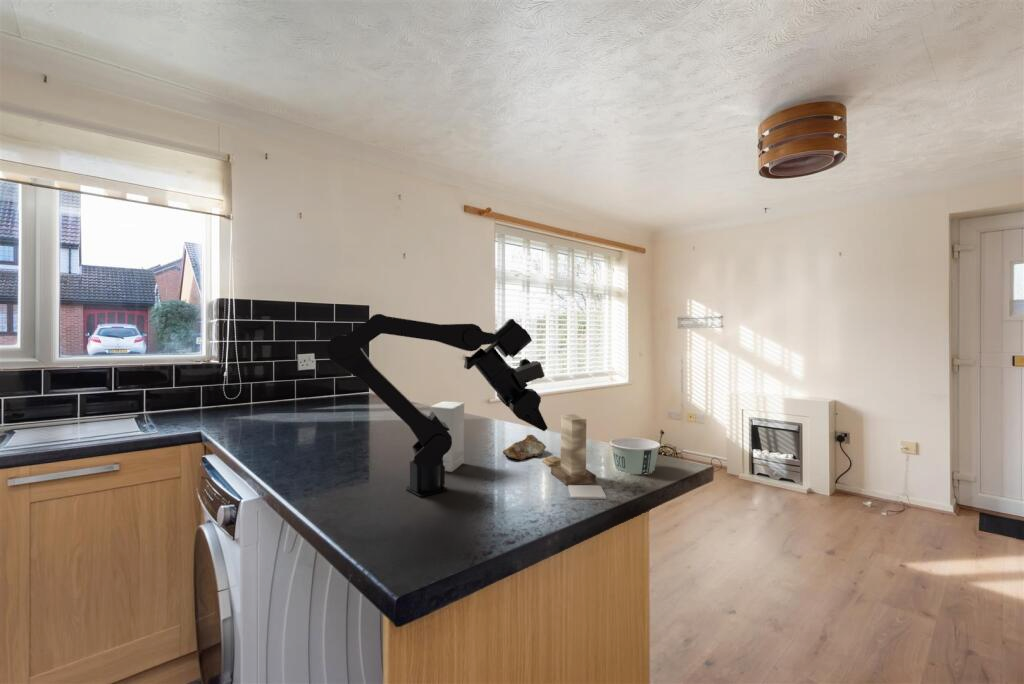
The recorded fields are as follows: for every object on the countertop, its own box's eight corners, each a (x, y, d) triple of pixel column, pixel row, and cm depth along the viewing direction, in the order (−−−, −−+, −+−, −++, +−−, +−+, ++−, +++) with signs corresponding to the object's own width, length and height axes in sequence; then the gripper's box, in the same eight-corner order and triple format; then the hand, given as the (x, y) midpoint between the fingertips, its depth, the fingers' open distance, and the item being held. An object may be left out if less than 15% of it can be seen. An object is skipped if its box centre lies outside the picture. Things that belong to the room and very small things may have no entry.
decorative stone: (552, 434, 130) (525, 452, 117) (552, 450, 131) (525, 469, 118) (522, 430, 135) (493, 446, 123) (523, 445, 136) (494, 462, 123)
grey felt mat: (571, 498, 93) (571, 496, 93) (567, 487, 100) (567, 485, 100) (606, 498, 93) (606, 496, 93) (600, 487, 100) (600, 485, 100)
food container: (671, 472, 112) (671, 445, 112) (633, 479, 106) (634, 451, 106) (635, 460, 122) (635, 435, 122) (599, 466, 116) (599, 440, 116)
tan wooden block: (571, 482, 103) (571, 419, 103) (560, 474, 109) (561, 415, 109) (585, 481, 104) (586, 419, 104) (574, 473, 110) (574, 414, 110)
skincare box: (441, 461, 120) (441, 400, 119) (465, 463, 118) (466, 402, 118) (427, 470, 112) (427, 405, 111) (453, 472, 110) (453, 406, 110)
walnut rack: (566, 485, 101) (566, 478, 101) (551, 473, 110) (551, 466, 110) (596, 482, 103) (596, 475, 103) (579, 471, 112) (579, 464, 112)
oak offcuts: (549, 466, 116) (549, 461, 116) (542, 461, 120) (542, 456, 120) (565, 465, 117) (565, 460, 117) (557, 460, 121) (557, 455, 121)
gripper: (536, 351, 93) (581, 409, 96) (515, 344, 111) (554, 393, 114) (493, 388, 92) (541, 445, 94) (479, 374, 110) (519, 423, 113)
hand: (539, 424), depth 104 cm, fingers open, 9 cm apart
